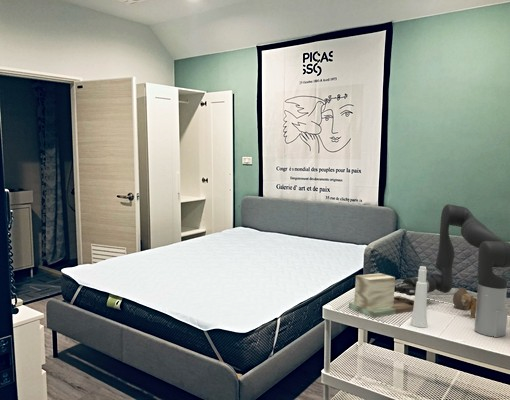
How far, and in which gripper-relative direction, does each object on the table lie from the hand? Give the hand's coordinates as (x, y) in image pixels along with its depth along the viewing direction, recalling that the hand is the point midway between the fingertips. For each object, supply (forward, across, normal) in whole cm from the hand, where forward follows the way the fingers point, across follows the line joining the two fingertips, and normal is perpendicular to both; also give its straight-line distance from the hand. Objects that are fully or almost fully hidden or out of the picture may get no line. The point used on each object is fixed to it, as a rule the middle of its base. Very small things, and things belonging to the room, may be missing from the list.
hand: (387, 289), depth 184 cm
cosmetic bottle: (+4, +20, +8) cm, 22 cm away
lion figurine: (-25, +24, +8) cm, 36 cm away
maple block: (+7, 0, +6) cm, 9 cm away
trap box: (0, 0, +8) cm, 8 cm away
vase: (-32, +12, +8) cm, 36 cm away
